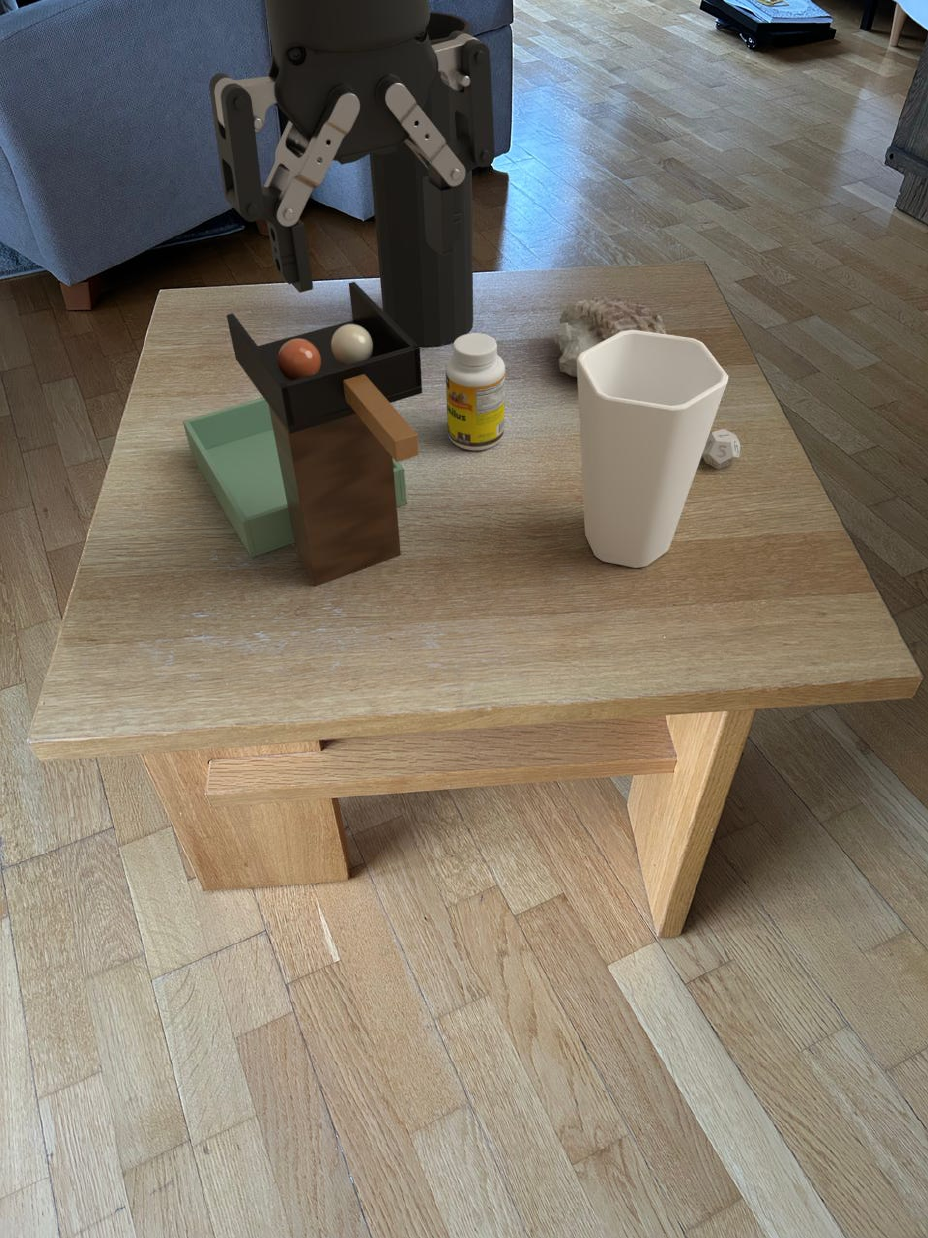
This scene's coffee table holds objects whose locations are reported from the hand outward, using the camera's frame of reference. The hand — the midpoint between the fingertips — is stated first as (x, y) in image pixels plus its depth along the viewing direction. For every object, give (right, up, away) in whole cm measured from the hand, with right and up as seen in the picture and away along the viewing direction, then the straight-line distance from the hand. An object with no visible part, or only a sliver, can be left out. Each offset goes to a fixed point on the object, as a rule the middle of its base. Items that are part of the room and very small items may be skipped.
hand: (372, 266), depth 53 cm
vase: (+1, +14, +57) cm, 59 cm away
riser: (-5, -14, +29) cm, 33 cm away
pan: (-3, -4, +14) cm, 15 cm away
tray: (-11, -6, +37) cm, 39 cm away
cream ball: (-3, 0, +15) cm, 15 cm away
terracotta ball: (-6, -1, +14) cm, 15 cm away
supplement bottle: (+6, -2, +41) cm, 42 cm away
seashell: (+20, +7, +50) cm, 54 cm away
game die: (+29, -5, +38) cm, 48 cm away
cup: (+19, -13, +30) cm, 38 cm away
